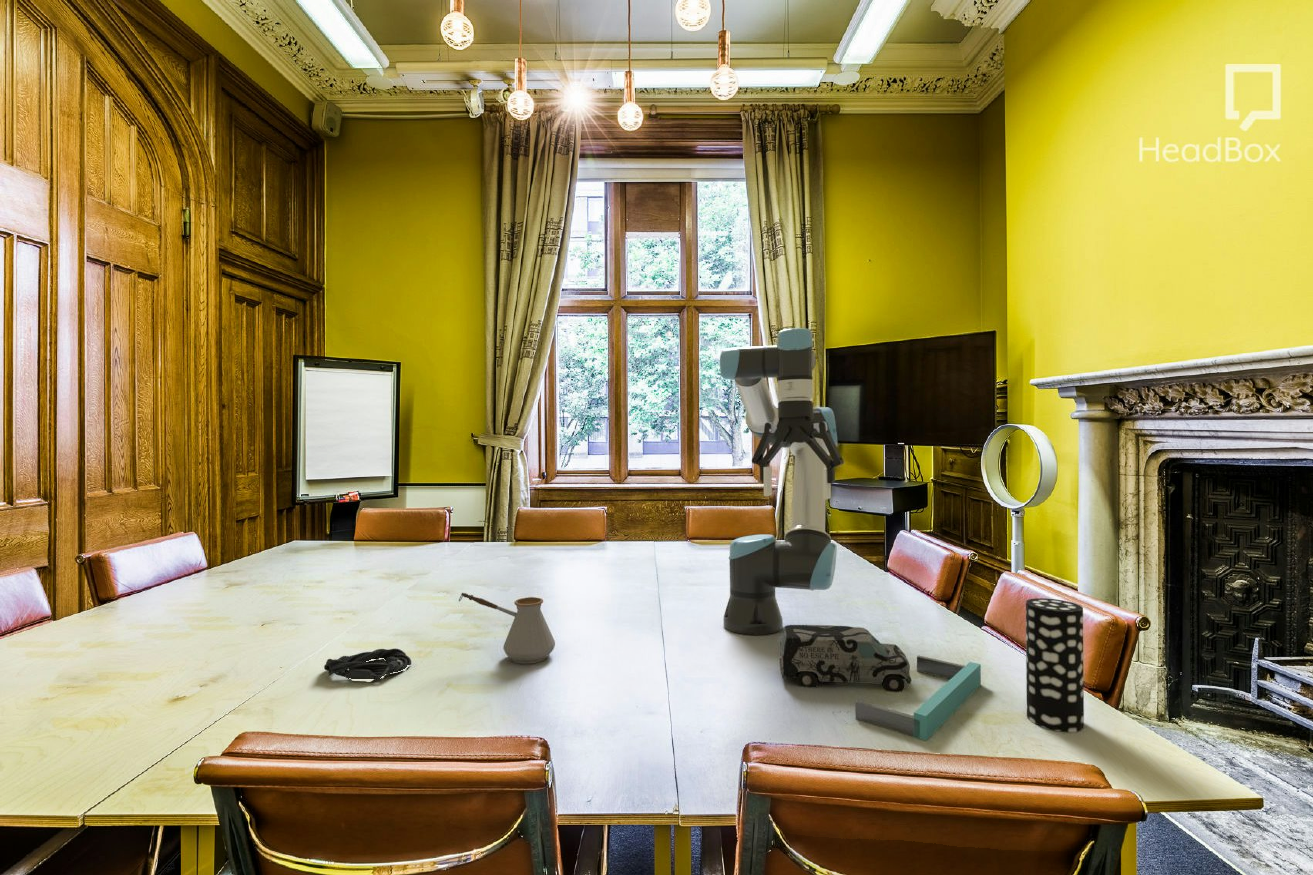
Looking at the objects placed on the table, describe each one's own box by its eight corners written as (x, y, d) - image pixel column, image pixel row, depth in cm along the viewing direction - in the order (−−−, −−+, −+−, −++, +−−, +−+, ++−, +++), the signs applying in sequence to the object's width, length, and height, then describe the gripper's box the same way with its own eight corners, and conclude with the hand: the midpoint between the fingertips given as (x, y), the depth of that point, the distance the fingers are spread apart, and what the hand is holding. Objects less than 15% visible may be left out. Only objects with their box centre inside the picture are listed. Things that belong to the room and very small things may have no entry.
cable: (308, 681, 130) (308, 660, 130) (352, 658, 144) (352, 639, 144) (384, 686, 127) (384, 665, 127) (421, 662, 141) (421, 642, 141)
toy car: (913, 693, 120) (912, 641, 120) (781, 687, 124) (780, 636, 124) (900, 672, 131) (899, 624, 131) (779, 667, 134) (778, 620, 134)
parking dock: (855, 718, 110) (855, 695, 110) (918, 669, 132) (918, 650, 132) (926, 740, 102) (926, 716, 102) (980, 684, 124) (980, 664, 124)
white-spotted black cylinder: (1016, 711, 112) (1015, 599, 112) (1060, 709, 112) (1059, 597, 112) (1049, 733, 103) (1048, 612, 103) (1096, 730, 104) (1095, 610, 104)
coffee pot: (558, 648, 148) (557, 584, 148) (551, 666, 136) (550, 597, 136) (467, 650, 147) (466, 586, 147) (452, 668, 136) (451, 599, 136)
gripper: (736, 401, 141) (737, 495, 142) (846, 397, 127) (847, 501, 128) (751, 402, 148) (752, 492, 148) (858, 398, 133) (859, 498, 134)
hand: (796, 497), depth 138 cm, fingers open, 13 cm apart
